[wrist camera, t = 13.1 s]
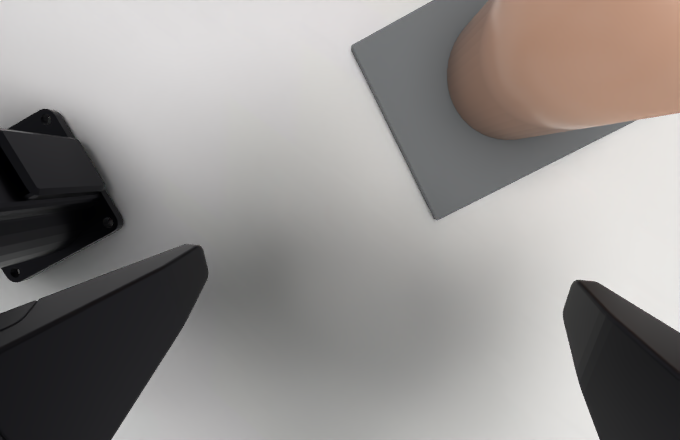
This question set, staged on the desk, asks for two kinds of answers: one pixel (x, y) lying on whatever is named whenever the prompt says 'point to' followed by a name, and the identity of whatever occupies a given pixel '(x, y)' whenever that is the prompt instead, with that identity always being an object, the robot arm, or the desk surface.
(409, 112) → the rubber mat
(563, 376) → the desk surface
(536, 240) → the desk surface
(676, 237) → the desk surface
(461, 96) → the peach cylinder
